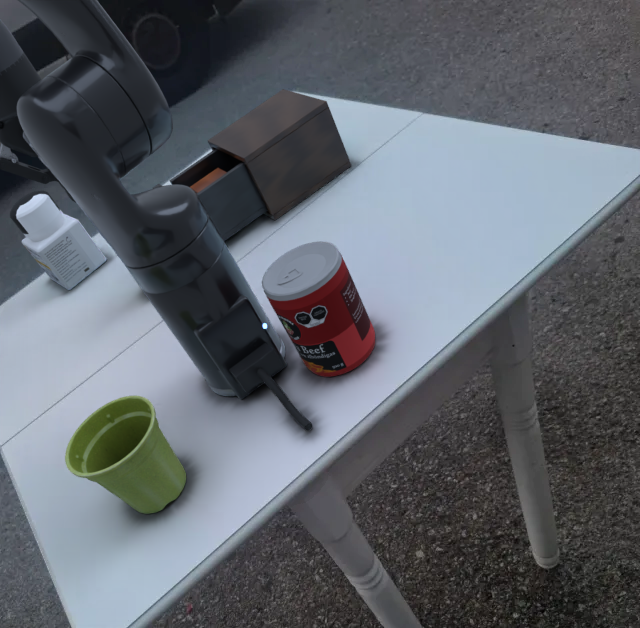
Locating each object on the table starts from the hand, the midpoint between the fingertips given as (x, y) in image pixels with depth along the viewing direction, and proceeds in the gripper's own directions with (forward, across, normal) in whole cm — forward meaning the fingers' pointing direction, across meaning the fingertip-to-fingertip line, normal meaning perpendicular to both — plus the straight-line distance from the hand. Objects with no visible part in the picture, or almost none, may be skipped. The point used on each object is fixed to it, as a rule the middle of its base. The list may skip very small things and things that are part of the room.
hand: (85, 199), depth 90 cm
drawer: (+13, +13, 0) cm, 19 cm away
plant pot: (+14, -13, -38) cm, 43 cm away
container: (+15, -6, +18) cm, 24 cm away
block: (+10, +18, 0) cm, 20 cm away
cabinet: (+14, +26, 0) cm, 30 cm away
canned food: (+14, +10, -38) cm, 42 cm away
